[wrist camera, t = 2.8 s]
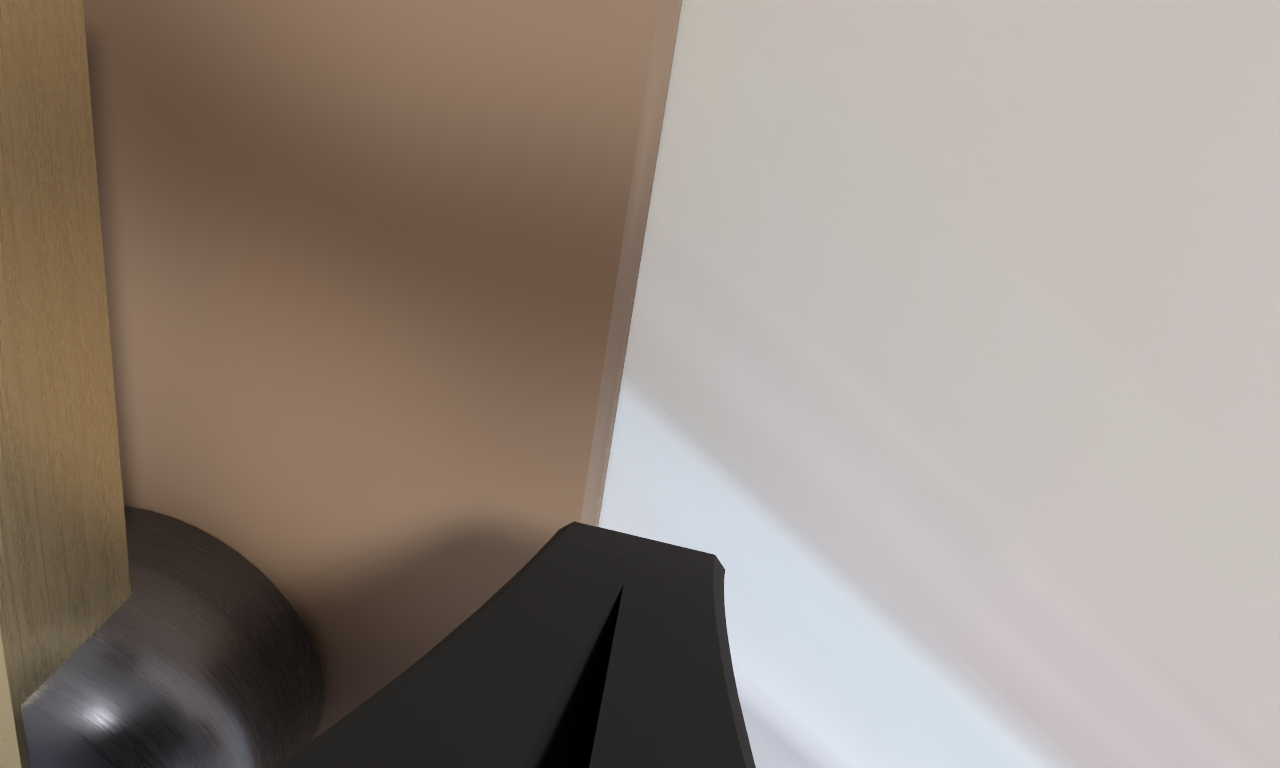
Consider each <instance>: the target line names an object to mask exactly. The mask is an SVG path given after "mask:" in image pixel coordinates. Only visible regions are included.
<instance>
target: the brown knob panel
mask: <svg viewBox="0 0 1280 768" xmlns="http://www.w3.org/2000/svg"><path fill="white" fill-rule="evenodd" d="M681 4H682V0H83V11H84V23H85V36H86V48H87V60H88V72H89V84H90V97H91V109H92V121H93V133H94V146H95V158H96V170H97V182H98V195H99V207H100V219H101V231H102V244H103V256H104V268H105V280H106V292H107V305H108V317H109V329H110V341H111V354H112V366H113V378H114V390H115V403H116V415H117V427H118V439H119V452H120V464H121V476H122V488H123V500H124V506H129V507H134V508H140V509H145V510H150V511H153V512H157V513H160V514H163V515H167V516H170V517H173V518H176V519H178V520H180V521H183V522H185V523H187V524H190V525H192V526H195V527H197V528H199V529H200V530H202V531H204V532H206V533H208V534H210V535H212V536H213V537H215V538H217V539H219V540H220V541H222V542H223V543H225V544H226V545H228V546H229V547H231V548H232V549H234V550H235V551H237V552H238V553H240V554H241V555H242V556H243V557H245V558H246V559H247V560H248V561H249V562H251V563H252V564H253V565H254V566H256V567H257V568H258V569H259V570H260V571H261V572H262V573H263V574H264V575H265V576H266V577H267V578H268V579H269V580H270V581H271V582H272V583H273V584H274V585H275V586H276V587H277V588H278V589H279V591H280V592H281V593H282V594H283V595H284V597H285V598H286V599H287V600H288V602H289V603H290V604H291V605H292V607H293V608H294V610H295V611H296V613H297V614H298V616H299V617H300V619H301V621H302V622H303V624H304V626H305V628H306V630H307V632H308V634H309V635H310V637H311V639H312V641H313V644H314V647H315V649H316V652H317V655H318V658H319V660H320V665H321V669H322V674H323V679H324V692H325V701H324V710H323V716H322V720H321V723H320V726H319V730H318V732H317V734H316V736H315V738H316V737H317V736H319V735H320V734H322V733H323V732H324V731H326V730H327V729H329V728H330V727H331V726H333V725H334V724H336V723H337V722H338V721H340V720H341V719H342V718H343V717H345V716H346V715H347V714H349V713H350V712H351V711H353V710H354V709H355V708H357V707H358V706H359V705H361V704H362V703H363V702H365V701H366V700H367V699H369V698H370V697H371V696H372V695H374V694H375V693H376V692H378V691H379V690H380V689H382V688H383V687H384V686H386V685H387V684H388V683H390V682H391V681H392V680H394V679H395V678H396V677H398V676H399V675H400V674H402V673H403V672H404V671H405V670H407V669H408V668H409V667H410V666H412V665H413V664H414V663H415V662H417V661H418V660H419V659H420V658H422V657H423V656H424V655H425V654H426V653H428V652H429V651H430V650H431V649H432V648H433V647H435V646H436V645H437V644H438V643H439V642H440V641H442V640H443V639H444V638H445V637H446V636H447V635H449V634H450V633H451V632H452V631H453V630H454V629H456V628H457V627H458V626H459V625H460V624H461V623H462V622H464V621H465V620H466V619H467V618H468V617H469V616H471V615H472V614H473V613H474V612H475V611H476V610H478V609H479V608H480V607H481V606H482V605H483V604H484V603H485V602H486V601H488V600H489V599H490V598H491V597H492V596H493V595H494V594H495V593H496V592H497V591H498V590H499V589H501V588H502V587H503V586H504V585H505V584H506V583H507V582H508V581H509V580H510V579H511V578H512V577H513V576H514V575H515V574H516V573H517V572H518V571H520V570H521V569H522V568H523V567H524V566H525V565H526V564H527V563H528V562H529V561H530V560H531V559H532V558H533V557H534V556H535V555H536V554H537V552H538V551H539V550H540V549H541V548H542V547H543V546H544V545H545V544H546V543H547V542H548V541H549V540H550V539H551V538H552V537H553V536H554V534H555V533H556V532H557V531H558V530H559V529H561V528H563V527H564V526H566V525H568V524H570V523H572V522H573V521H575V522H579V523H583V524H588V525H592V526H596V527H598V523H599V517H600V511H601V505H602V498H603V492H604V486H605V480H606V473H607V467H608V461H609V455H610V448H611V442H612V436H613V429H614V423H615V417H616V411H617V404H618V398H619V392H620V386H621V379H622V373H623V367H624V361H625V354H626V348H627V342H628V336H629V329H630V323H631V317H632V311H633V304H634V298H635V292H636V286H637V279H638V273H639V267H640V261H641V254H642V248H643V242H644V236H645V229H646V223H647V217H648V211H649V204H650V198H651V192H652V186H653V179H654V173H655V167H656V161H657V154H658V148H659V142H660V136H661V129H662V123H663V117H664V111H665V104H666V98H667V92H668V86H669V79H670V73H671V67H672V61H673V54H674V48H675V42H676V36H677V29H678V23H679V17H680V11H681Z"/></svg>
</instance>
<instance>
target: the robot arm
mask: <svg viewBox="0 0 1280 768" xmlns="http://www.w3.org/2000/svg"><path fill="white" fill-rule="evenodd" d="M724 575H725V569H724V567H723V566H722V564H721V563H720V561H719V560H718V559H717V557H716V556H715V555H713V554H709V553H705V552H701V551H697V550H692V549H688V548H684V547H680V546H676V545H671V544H667V543H663V542H659V541H655V540H650V539H646V538H642V537H638V536H634V535H629V534H625V533H621V532H617V531H613V530H608V529H604V528H600V527H596V526H592V525H588V524H583V523H579V522H575V521H573V522H572V523H570V524H568V525H566V526H564V527H563V528H561V529H559V530H558V531H557V532H556V533H555V534H554V536H553V537H552V538H551V539H550V540H549V541H548V542H547V543H546V544H545V545H544V546H543V547H542V548H541V549H540V550H539V551H538V552H537V554H536V555H535V556H534V557H533V558H532V559H531V560H530V561H529V562H528V563H527V564H526V565H525V566H524V567H523V568H522V569H521V570H520V571H518V572H517V573H516V574H515V575H514V576H513V577H512V578H511V579H510V580H509V581H508V582H507V583H506V584H505V585H504V586H503V587H502V588H501V589H499V590H498V591H497V592H496V593H495V594H494V595H493V596H492V597H491V598H490V599H489V600H488V601H486V602H485V603H484V604H483V605H482V606H481V607H480V608H479V609H478V610H476V611H475V612H474V613H473V614H472V615H471V616H469V617H468V618H467V619H466V620H465V621H464V622H462V623H461V624H460V625H459V626H458V627H457V628H456V629H454V630H453V631H452V632H451V633H450V634H449V635H447V636H446V637H445V638H444V639H443V640H442V641H440V642H439V643H438V644H437V645H436V646H435V647H433V648H432V649H431V650H430V651H429V652H428V653H426V654H425V655H424V656H423V657H422V658H420V659H419V660H418V661H417V662H415V663H414V664H413V665H412V666H410V667H409V668H408V669H407V670H405V671H404V672H403V673H402V674H400V675H399V676H398V677H396V678H395V679H394V680H392V681H391V682H390V683H388V684H387V685H386V686H384V687H383V688H382V689H380V690H379V691H378V692H376V693H375V694H374V695H372V696H371V697H370V698H369V699H367V700H366V701H365V702H363V703H362V704H361V705H359V706H358V707H357V708H355V709H354V710H353V711H351V712H350V713H349V714H347V715H346V716H345V717H343V718H342V719H341V720H340V721H338V722H337V723H336V724H334V725H333V726H331V727H330V728H329V729H327V730H326V731H324V732H323V733H322V734H320V735H319V736H317V737H316V738H314V739H313V740H312V741H310V742H309V743H307V744H306V745H304V746H303V747H301V748H300V749H299V750H297V751H296V752H294V753H293V754H291V755H290V756H288V757H287V758H285V759H284V760H282V761H281V762H279V763H278V764H276V765H275V766H273V767H272V768H756V767H755V763H754V760H753V756H752V752H751V747H750V743H749V739H748V735H747V731H746V727H745V722H744V718H743V714H742V710H741V706H740V702H739V698H738V693H737V688H736V683H735V678H734V673H733V667H732V661H731V654H730V648H729V642H728V635H727V627H726V618H725V606H724Z"/></svg>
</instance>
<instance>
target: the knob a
mask: <svg viewBox="0 0 1280 768" xmlns="http://www.w3.org/2000/svg"><path fill="white" fill-rule="evenodd" d="M324 701H325V692H324V679H323V674H322V669H321V665H320V660H319V658H318V655H317V652H316V649H315V647H314V644H313V641H312V639H311V637H310V635H309V634H308V632H307V630H306V628H305V626H304V624H303V622H302V621H301V619H300V617H299V616H298V614H297V613H296V611H295V610H294V608H293V607H292V605H291V604H290V603H289V602H288V600H287V599H286V598H285V597H284V595H283V594H282V593H281V592H280V591H279V589H278V588H277V587H276V586H275V585H274V584H273V583H272V582H271V581H270V580H269V579H268V578H267V577H266V576H265V575H264V574H263V573H262V572H261V571H260V570H259V569H258V568H257V567H256V566H254V565H253V564H252V563H251V562H249V561H248V560H247V559H246V558H245V557H243V556H242V555H241V554H240V553H238V552H237V551H235V550H234V549H232V548H231V547H229V546H228V545H226V544H225V543H223V542H222V541H220V540H219V539H217V538H215V537H213V536H212V535H210V534H208V533H206V532H204V531H202V530H200V529H199V528H197V527H195V526H192V525H190V524H187V523H185V522H183V521H180V520H178V519H176V518H173V517H170V516H167V515H163V514H160V513H157V512H153V511H150V510H145V509H140V508H134V507H129V506H124V500H123V488H122V476H121V464H120V452H119V439H118V427H117V415H116V403H115V390H114V378H113V366H112V354H111V341H110V329H109V317H108V305H107V292H106V280H105V268H104V256H103V244H102V231H101V219H100V207H99V195H98V182H97V170H96V158H95V146H94V133H93V121H92V109H91V97H90V84H89V72H88V60H87V48H86V36H85V23H84V11H83V0H0V768H272V767H273V766H275V765H276V764H278V763H279V762H281V761H282V760H284V759H285V758H287V757H288V756H290V755H291V754H293V753H294V752H296V751H297V750H299V749H300V748H301V747H303V746H304V745H306V744H307V743H309V742H310V741H312V740H313V739H314V738H315V736H316V734H317V732H318V730H319V726H320V723H321V720H322V716H323V710H324Z"/></svg>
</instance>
